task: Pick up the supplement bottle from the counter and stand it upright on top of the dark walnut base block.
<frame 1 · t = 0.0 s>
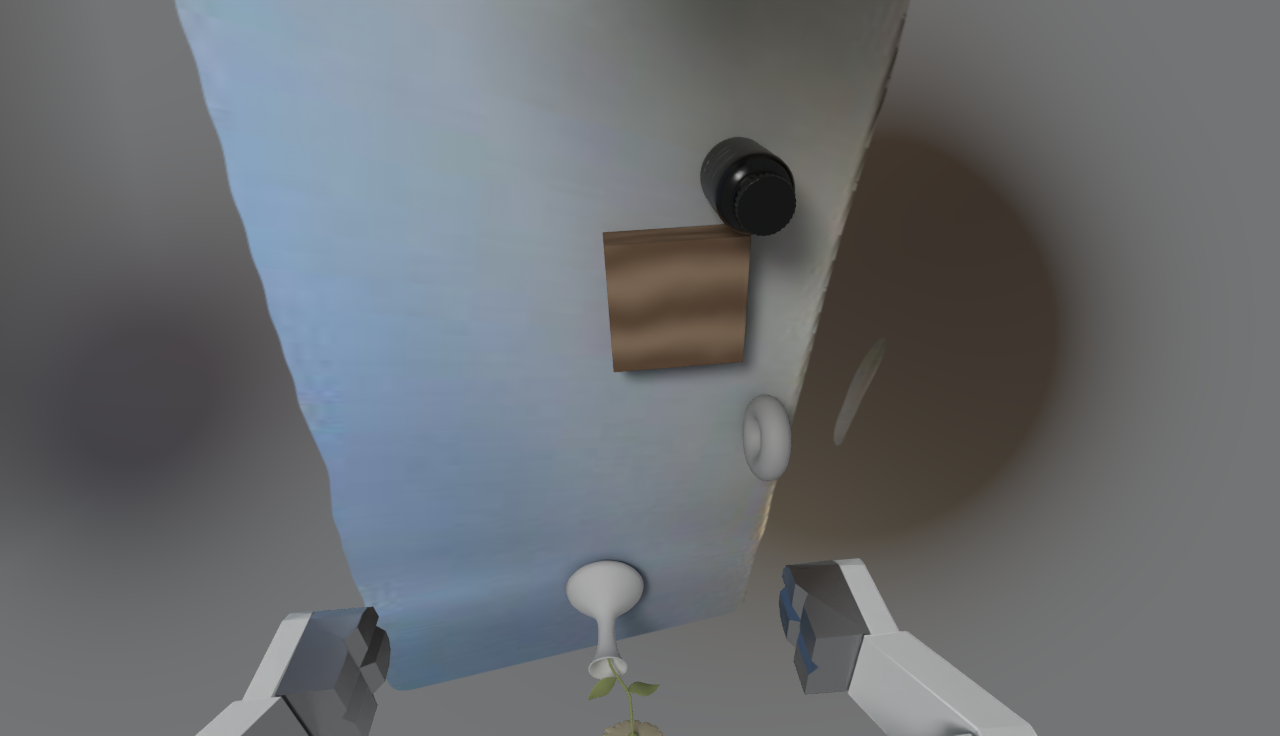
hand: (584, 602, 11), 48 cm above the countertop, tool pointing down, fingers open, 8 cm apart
donut: (754, 411, 70), on the countertop
walnut base: (673, 291, 60), on the countertop
supplement bottle: (733, 172, 55), on the countertop
flower in vase: (609, 578, 85), on the countertop
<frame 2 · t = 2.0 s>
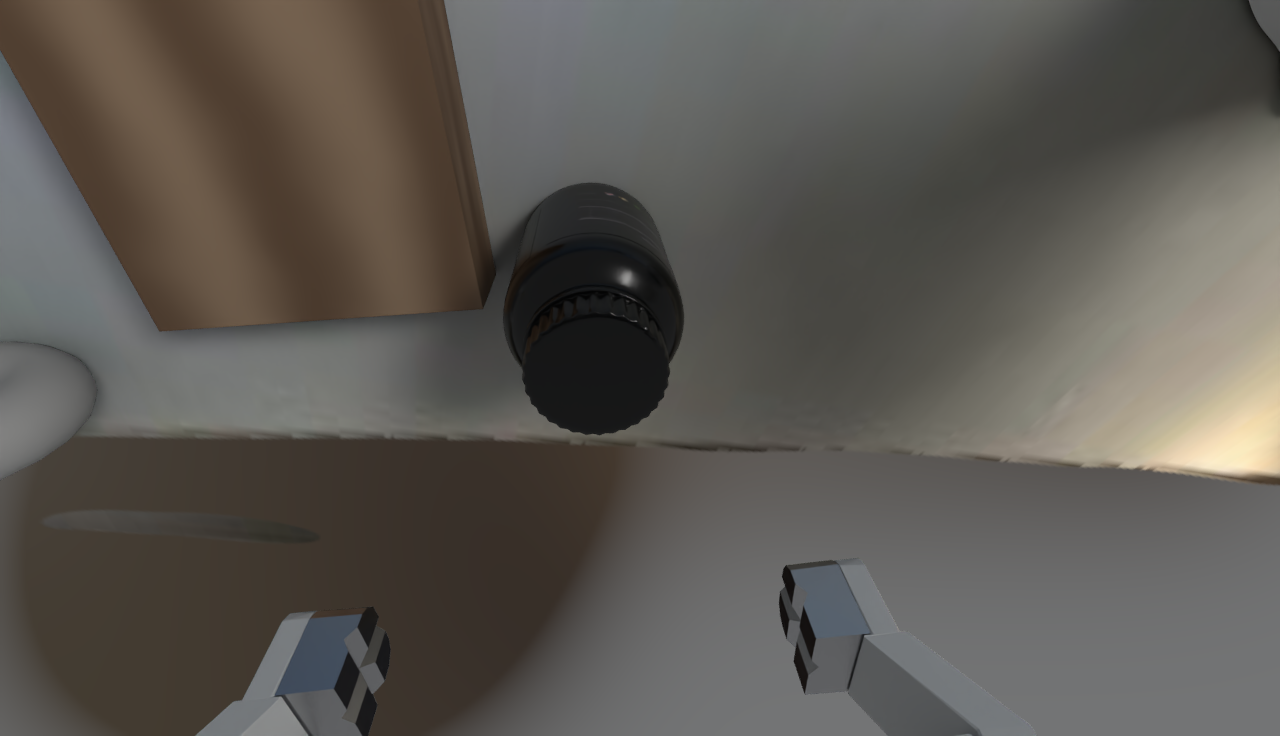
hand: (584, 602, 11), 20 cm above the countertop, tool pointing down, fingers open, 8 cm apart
donut: (43, 356, 29), on the countertop
walnut base: (304, 134, 25), on the countertop
supplement bottle: (593, 246, 28), on the countertop
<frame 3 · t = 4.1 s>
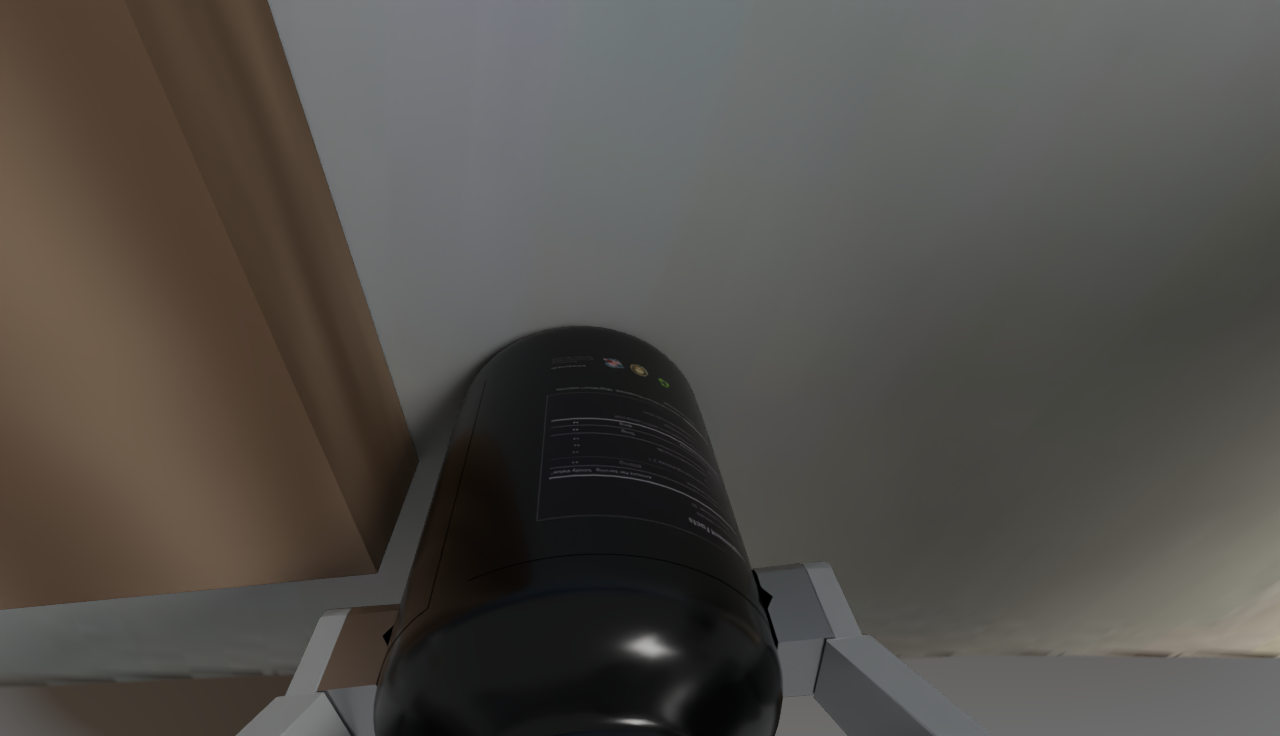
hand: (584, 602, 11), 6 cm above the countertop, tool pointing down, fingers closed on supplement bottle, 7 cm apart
walnut base: (27, 253, 13), on the countertop
supplement bottle: (583, 415, 17), on the countertop, touching gripper
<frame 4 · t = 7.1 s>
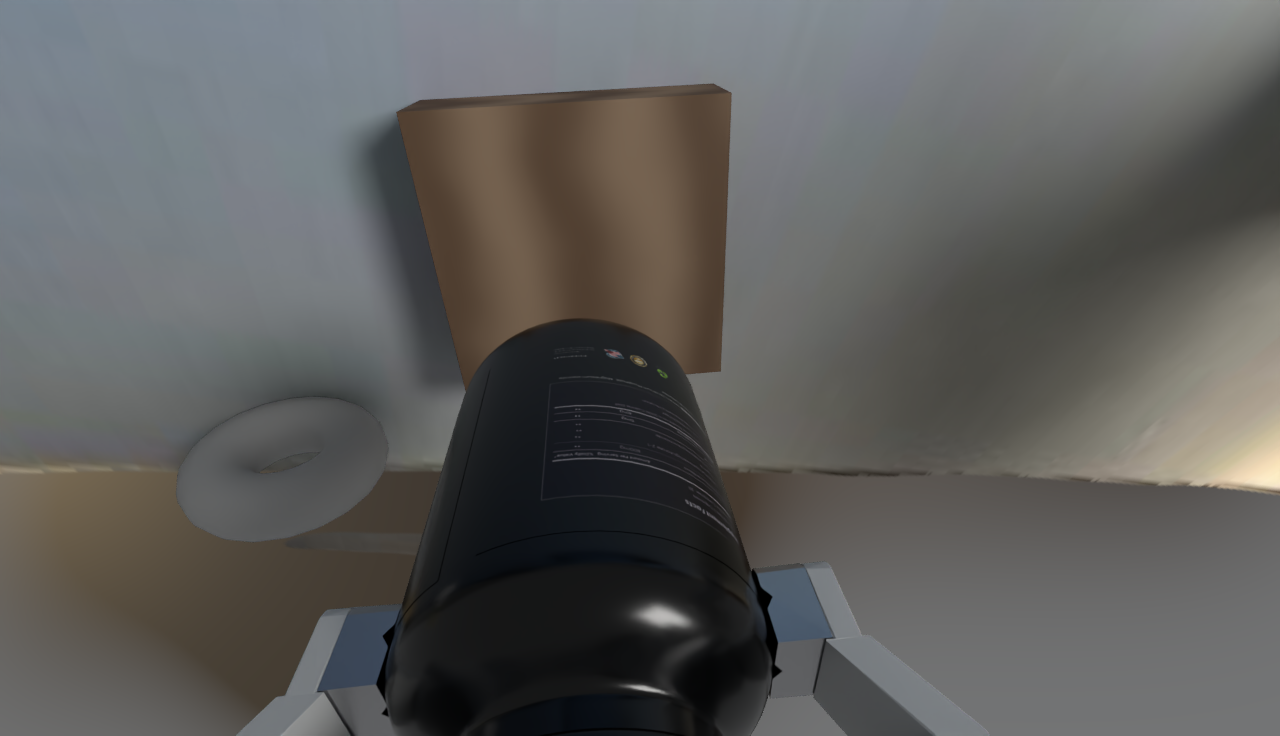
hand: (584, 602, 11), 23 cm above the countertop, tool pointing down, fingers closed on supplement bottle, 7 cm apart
donut: (326, 406, 35), on the countertop
walnut base: (582, 234, 31), on the countertop
supplement bottle: (583, 405, 17), point 16 cm above the countertop, touching gripper
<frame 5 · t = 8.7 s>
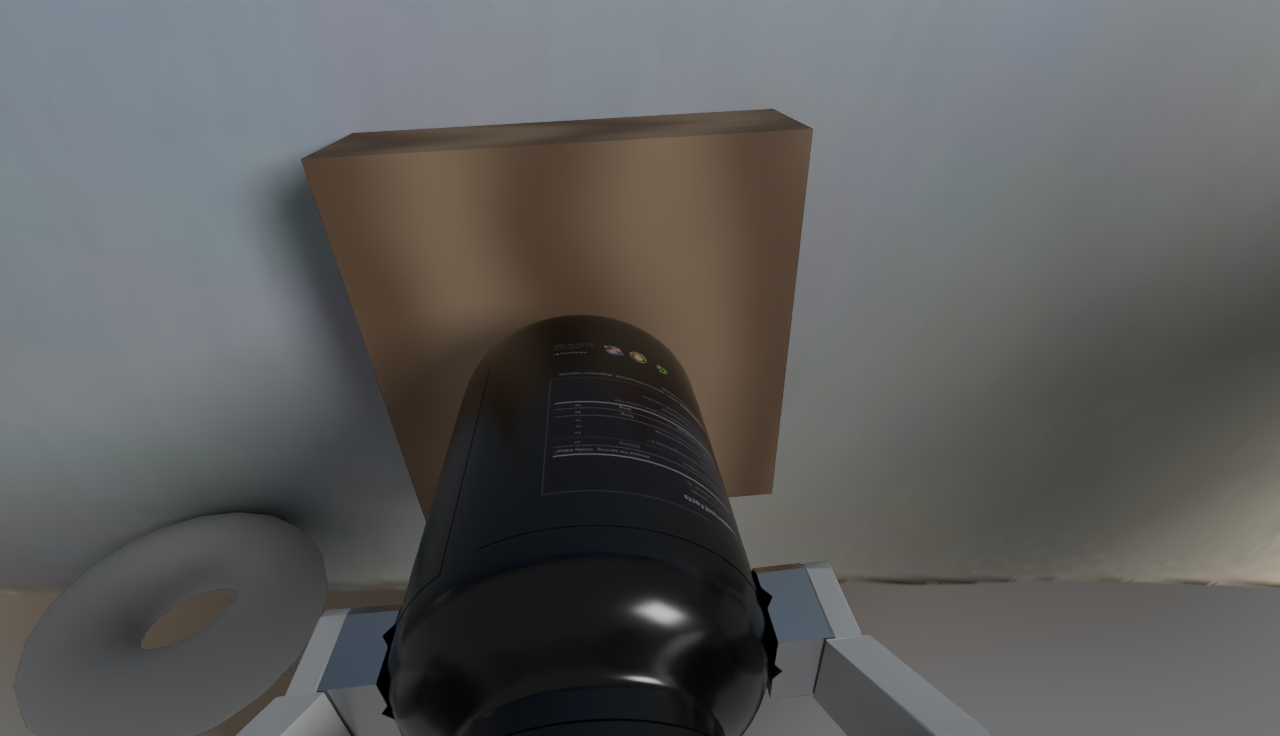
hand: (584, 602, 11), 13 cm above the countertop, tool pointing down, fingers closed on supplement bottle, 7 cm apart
donut: (253, 519, 27), on the countertop
walnut base: (585, 309, 23), on the countertop
supplement bottle: (583, 401, 17), point 6 cm above the countertop, touching gripper
when the fingers open (11 cm above the countertop, at t = 10.1 s): supplement bottle stays where it is, resting on walnut base.
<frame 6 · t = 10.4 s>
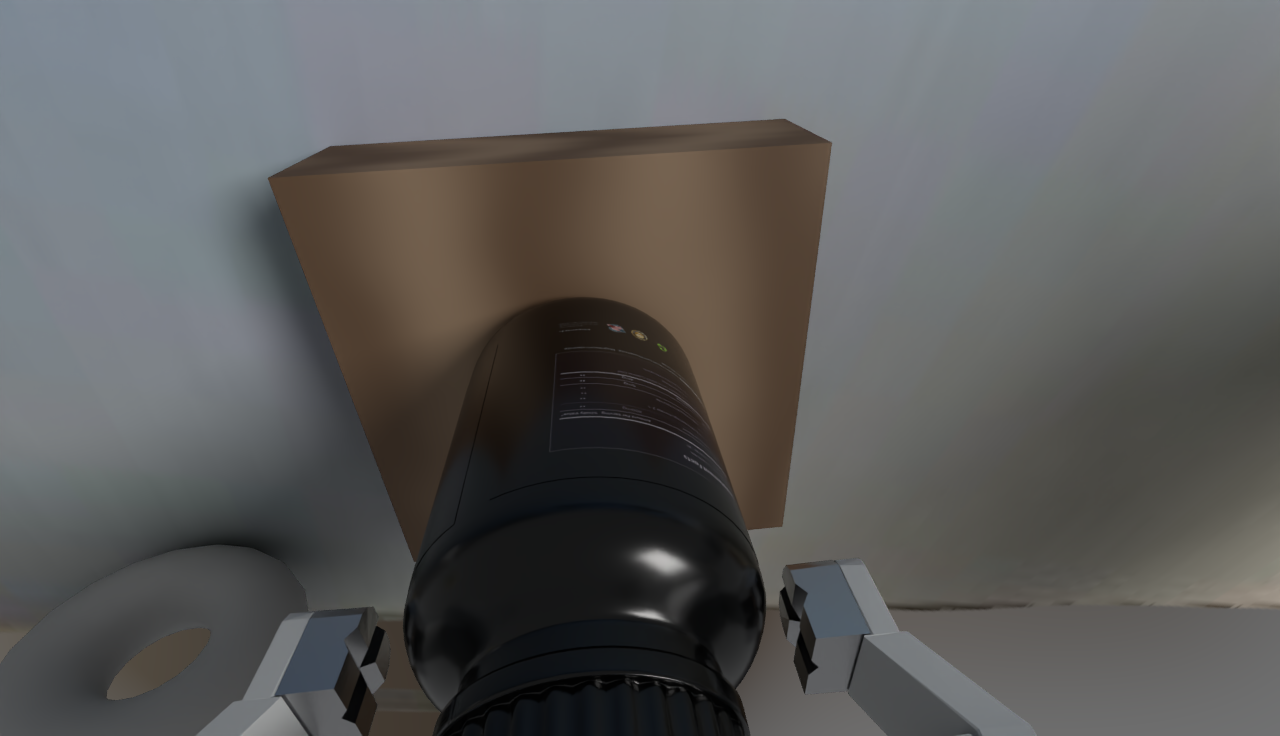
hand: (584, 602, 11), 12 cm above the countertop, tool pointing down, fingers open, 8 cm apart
donut: (232, 551, 26), on the countertop
walnut base: (583, 332, 21), on the countertop
supplement bottle: (586, 384, 18), point 4 cm above the countertop, touching walnut base
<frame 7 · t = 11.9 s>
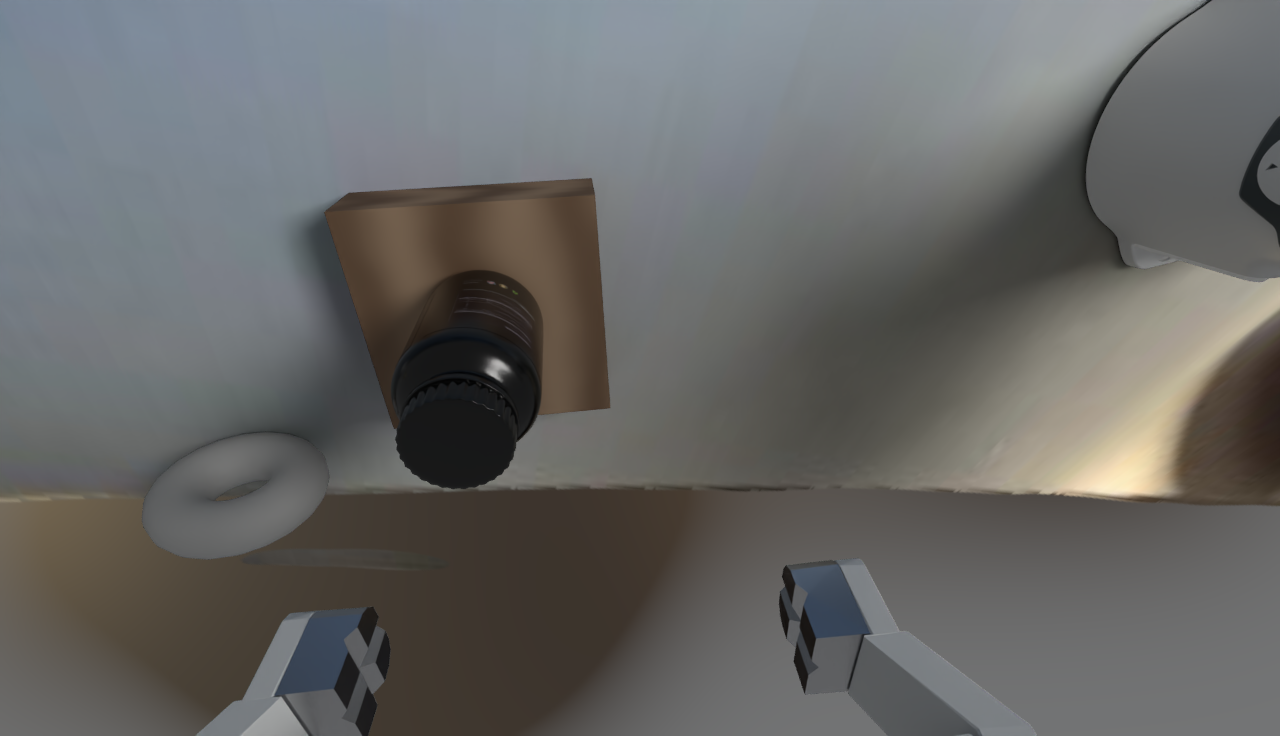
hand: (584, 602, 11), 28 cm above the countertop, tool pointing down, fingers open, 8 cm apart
donut: (276, 440, 41), on the countertop
walnut base: (492, 295, 37), on the countertop
supplement bottle: (487, 318, 34), point 4 cm above the countertop, touching walnut base
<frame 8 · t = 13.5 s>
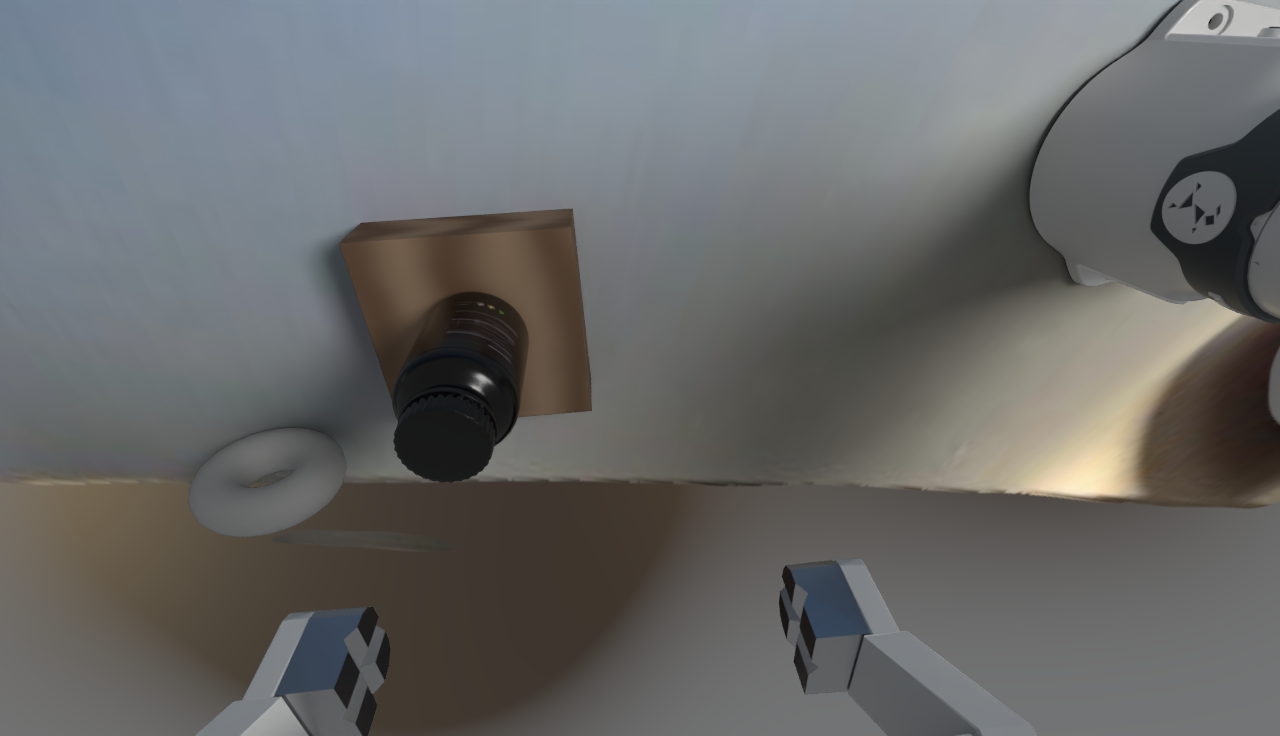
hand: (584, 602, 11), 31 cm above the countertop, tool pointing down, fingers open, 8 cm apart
donut: (301, 434, 46), on the countertop
walnut base: (487, 309, 42), on the countertop
supplement bottle: (480, 332, 38), point 4 cm above the countertop, touching walnut base
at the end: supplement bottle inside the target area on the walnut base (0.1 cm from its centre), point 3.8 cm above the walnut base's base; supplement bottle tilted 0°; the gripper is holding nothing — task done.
